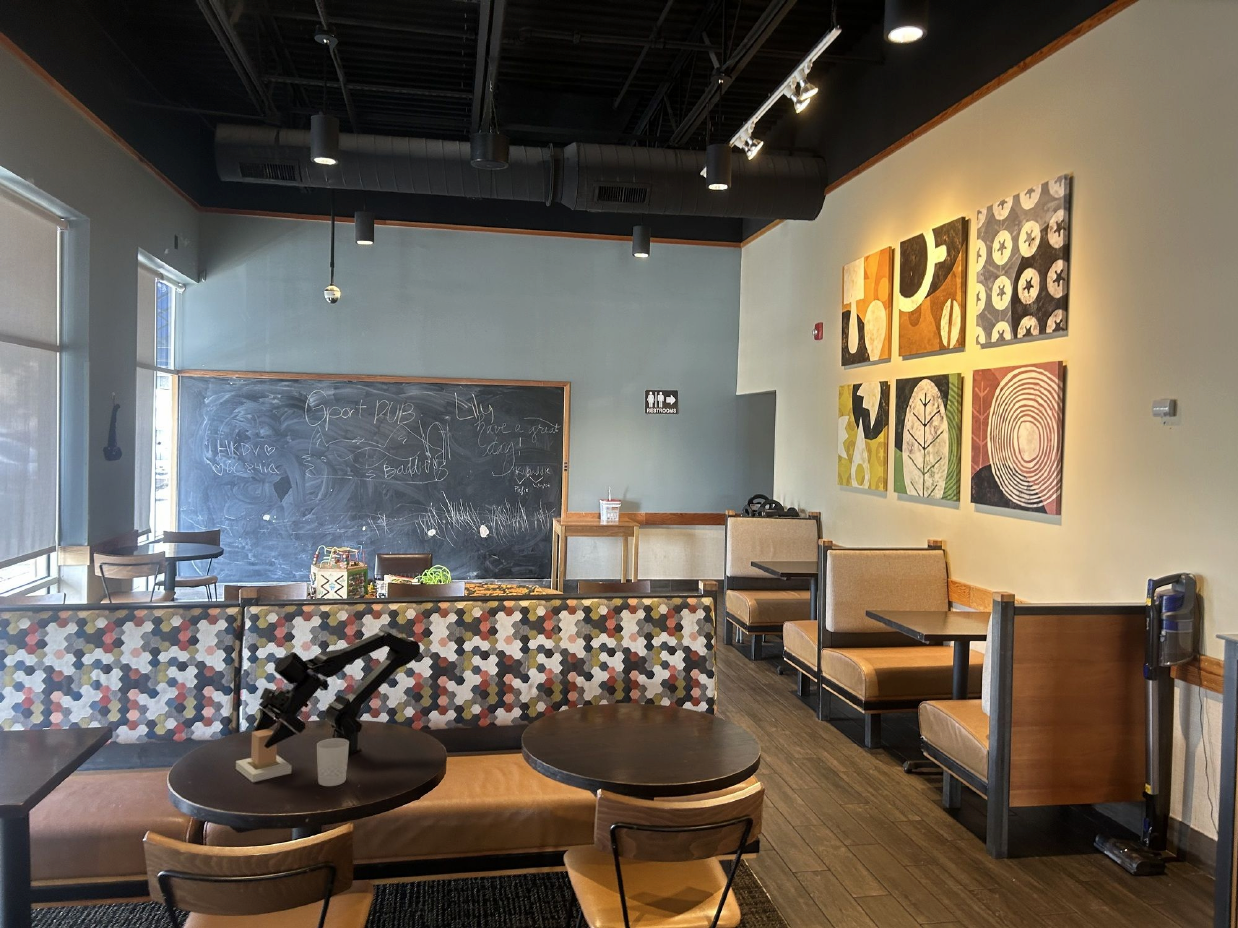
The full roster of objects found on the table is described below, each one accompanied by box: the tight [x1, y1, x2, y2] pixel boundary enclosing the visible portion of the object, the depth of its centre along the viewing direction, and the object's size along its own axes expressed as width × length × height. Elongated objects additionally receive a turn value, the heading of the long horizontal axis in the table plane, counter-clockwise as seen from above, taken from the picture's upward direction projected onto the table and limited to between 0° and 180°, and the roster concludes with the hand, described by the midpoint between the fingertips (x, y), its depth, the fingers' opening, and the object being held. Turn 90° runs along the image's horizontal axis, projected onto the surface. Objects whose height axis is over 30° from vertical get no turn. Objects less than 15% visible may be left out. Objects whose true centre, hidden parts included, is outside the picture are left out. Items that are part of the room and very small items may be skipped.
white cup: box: [316, 737, 349, 787], centre depth 220 cm, size 8×8×10 cm
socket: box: [235, 755, 292, 783], centre depth 225 cm, size 10×12×2 cm
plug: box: [250, 728, 278, 770], centre depth 225 cm, size 5×5×10 cm
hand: (258, 742), depth 224 cm, fingers open, 9 cm apart
